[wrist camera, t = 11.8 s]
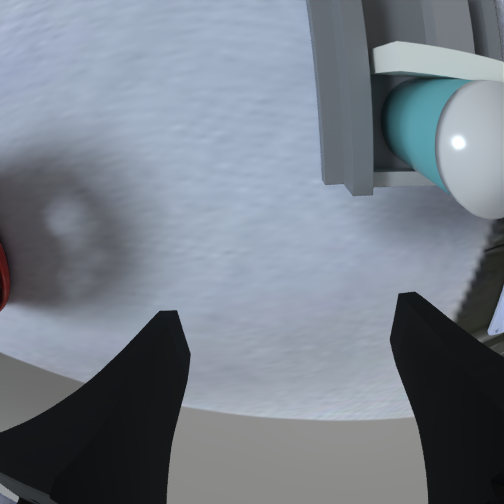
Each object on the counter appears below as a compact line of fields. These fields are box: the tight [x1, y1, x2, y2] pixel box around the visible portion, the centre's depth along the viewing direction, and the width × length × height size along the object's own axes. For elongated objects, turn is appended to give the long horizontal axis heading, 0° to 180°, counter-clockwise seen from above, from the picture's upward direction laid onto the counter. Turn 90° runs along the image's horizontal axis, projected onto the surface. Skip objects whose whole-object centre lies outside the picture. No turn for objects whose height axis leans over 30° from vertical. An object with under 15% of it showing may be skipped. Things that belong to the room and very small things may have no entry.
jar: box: [381, 78, 504, 219], centre depth 11 cm, size 5×5×7 cm
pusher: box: [368, 0, 504, 82], centre depth 10 cm, size 6×5×4 cm
